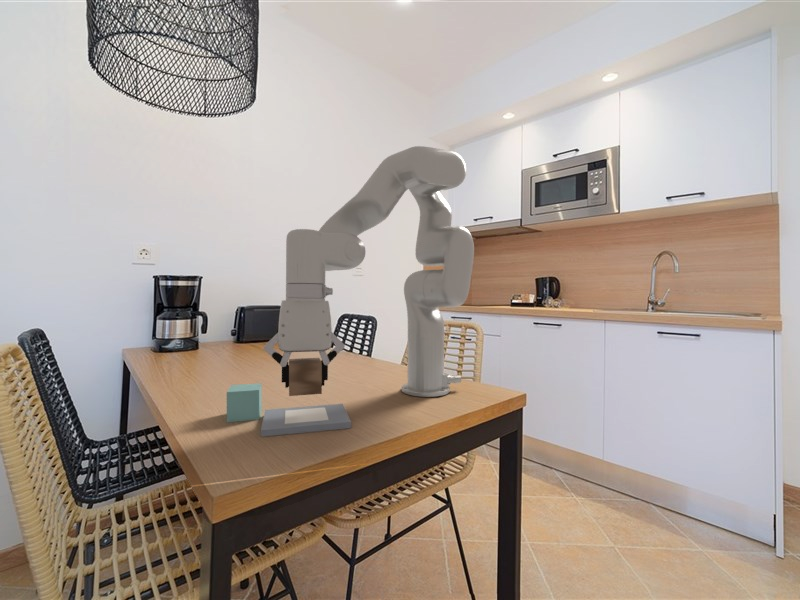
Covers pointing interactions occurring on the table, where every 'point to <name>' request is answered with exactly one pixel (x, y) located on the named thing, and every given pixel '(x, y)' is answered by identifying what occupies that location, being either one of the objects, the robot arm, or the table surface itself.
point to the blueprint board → (304, 419)
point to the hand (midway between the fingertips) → (304, 384)
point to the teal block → (244, 402)
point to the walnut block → (305, 376)
